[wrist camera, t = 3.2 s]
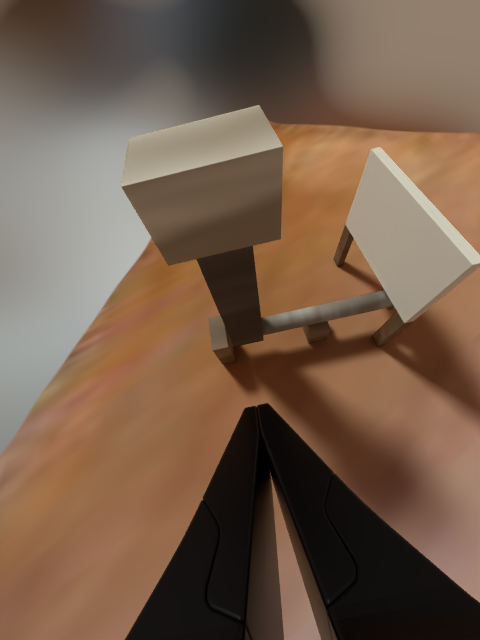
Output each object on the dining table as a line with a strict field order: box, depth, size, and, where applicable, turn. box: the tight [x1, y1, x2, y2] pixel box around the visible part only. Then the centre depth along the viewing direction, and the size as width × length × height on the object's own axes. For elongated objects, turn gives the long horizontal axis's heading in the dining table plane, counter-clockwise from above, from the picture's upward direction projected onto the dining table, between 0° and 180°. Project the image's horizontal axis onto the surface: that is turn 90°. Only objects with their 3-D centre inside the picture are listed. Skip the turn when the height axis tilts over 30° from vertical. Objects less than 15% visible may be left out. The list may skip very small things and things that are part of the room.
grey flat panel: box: [345, 147, 480, 323], centre depth 15 cm, size 10×1×6 cm, turn 11°
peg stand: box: [208, 225, 412, 364], centre depth 20 cm, size 10×14×4 cm
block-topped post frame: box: [122, 105, 395, 347], centre depth 13 cm, size 3×14×14 cm, turn 100°
